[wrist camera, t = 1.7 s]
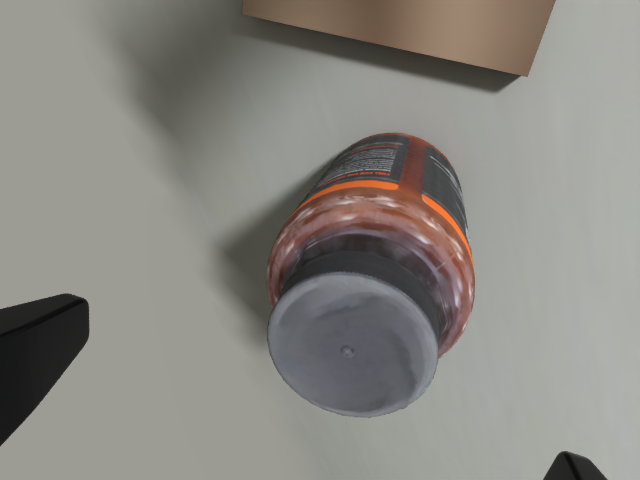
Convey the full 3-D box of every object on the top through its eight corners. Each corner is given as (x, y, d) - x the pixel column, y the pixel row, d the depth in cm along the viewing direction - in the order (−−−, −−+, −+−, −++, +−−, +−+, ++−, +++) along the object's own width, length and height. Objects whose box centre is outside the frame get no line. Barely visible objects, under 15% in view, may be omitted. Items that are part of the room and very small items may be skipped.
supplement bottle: (300, 190, 21) (175, 324, 11) (398, 99, 19) (351, 166, 9) (386, 281, 22) (341, 483, 12) (491, 205, 20) (547, 380, 9)
